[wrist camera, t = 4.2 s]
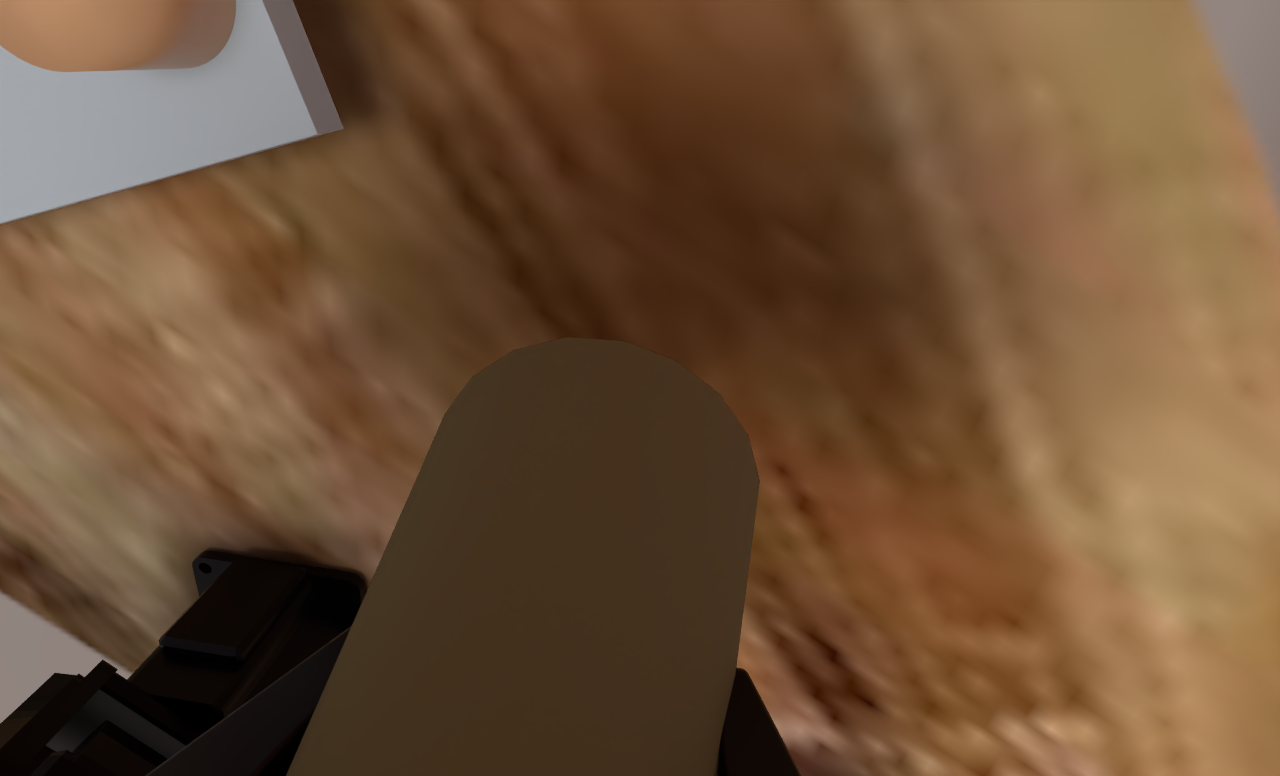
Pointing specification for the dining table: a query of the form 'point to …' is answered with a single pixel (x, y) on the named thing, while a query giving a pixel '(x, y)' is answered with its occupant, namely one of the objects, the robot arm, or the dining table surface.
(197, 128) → the cover
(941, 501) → the dining table surface
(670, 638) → the olive brown bulbous cylinder
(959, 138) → the dining table surface
